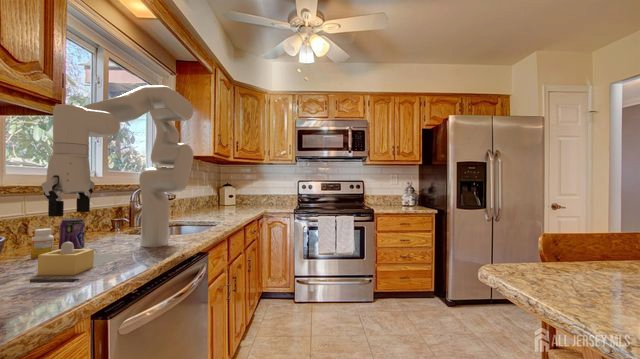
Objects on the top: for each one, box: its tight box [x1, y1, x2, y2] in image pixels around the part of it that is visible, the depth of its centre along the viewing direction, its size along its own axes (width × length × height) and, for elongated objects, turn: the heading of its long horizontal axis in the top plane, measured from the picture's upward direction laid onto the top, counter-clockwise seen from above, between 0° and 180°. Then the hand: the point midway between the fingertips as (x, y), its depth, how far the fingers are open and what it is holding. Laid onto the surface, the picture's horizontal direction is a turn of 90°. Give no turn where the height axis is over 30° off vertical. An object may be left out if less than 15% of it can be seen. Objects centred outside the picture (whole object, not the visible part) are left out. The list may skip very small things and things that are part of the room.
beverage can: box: [58, 217, 86, 250], centre depth 106 cm, size 7×7×12 cm
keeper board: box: [29, 242, 126, 284], centre depth 86 cm, size 24×10×9 cm, turn 5°
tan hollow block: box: [36, 248, 95, 275], centre depth 79 cm, size 7×9×5 cm
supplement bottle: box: [30, 228, 55, 259], centre depth 96 cm, size 5×5×10 cm
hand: (70, 214), depth 80 cm, fingers open, 9 cm apart
